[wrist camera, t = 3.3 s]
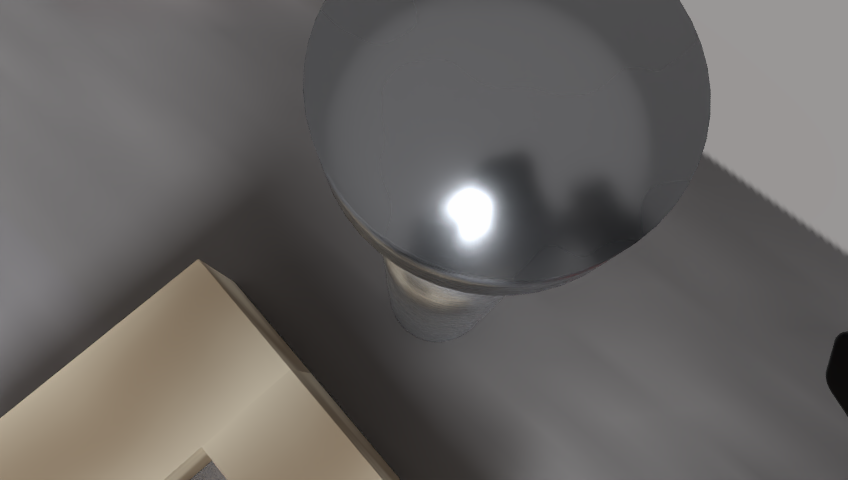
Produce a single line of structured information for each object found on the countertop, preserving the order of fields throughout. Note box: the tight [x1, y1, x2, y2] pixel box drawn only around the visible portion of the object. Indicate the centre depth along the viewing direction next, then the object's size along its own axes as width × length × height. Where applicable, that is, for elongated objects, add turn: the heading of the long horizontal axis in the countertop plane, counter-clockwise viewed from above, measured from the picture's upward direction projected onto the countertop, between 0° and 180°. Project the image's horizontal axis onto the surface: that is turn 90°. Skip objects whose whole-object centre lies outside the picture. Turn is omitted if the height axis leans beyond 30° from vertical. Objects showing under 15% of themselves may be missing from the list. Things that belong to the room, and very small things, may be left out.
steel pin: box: [303, 0, 710, 342], centre depth 13 cm, size 4×4×14 cm
